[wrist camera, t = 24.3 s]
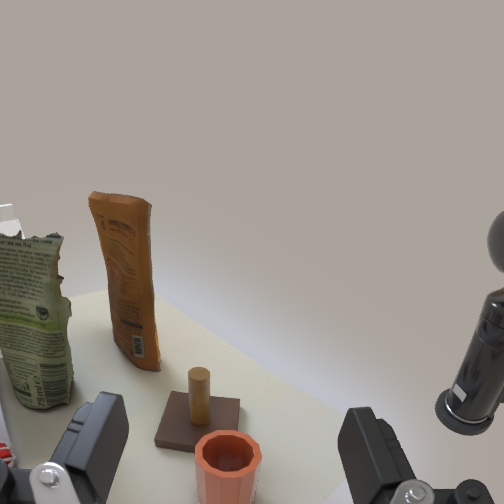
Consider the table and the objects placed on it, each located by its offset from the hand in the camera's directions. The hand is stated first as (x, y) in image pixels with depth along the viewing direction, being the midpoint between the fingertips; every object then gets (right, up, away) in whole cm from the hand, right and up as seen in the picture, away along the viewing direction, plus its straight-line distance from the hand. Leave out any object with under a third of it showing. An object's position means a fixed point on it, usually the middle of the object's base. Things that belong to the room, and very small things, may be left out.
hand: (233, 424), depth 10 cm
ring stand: (-6, -17, +28) cm, 34 cm away
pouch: (-31, -15, +29) cm, 45 cm away
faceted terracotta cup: (-2, -21, +18) cm, 27 cm away
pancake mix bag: (-21, -12, +44) cm, 50 cm away
